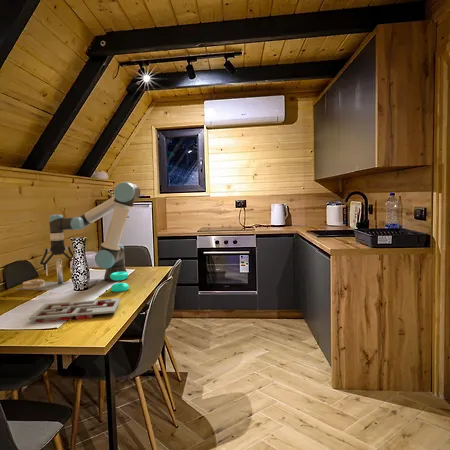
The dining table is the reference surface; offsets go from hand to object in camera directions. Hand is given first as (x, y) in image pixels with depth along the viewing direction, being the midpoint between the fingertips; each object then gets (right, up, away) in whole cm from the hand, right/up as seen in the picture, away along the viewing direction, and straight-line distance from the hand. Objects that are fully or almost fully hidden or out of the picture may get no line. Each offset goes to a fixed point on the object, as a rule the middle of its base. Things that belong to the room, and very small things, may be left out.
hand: (59, 273), depth 210 cm
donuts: (+42, -7, -15) cm, 45 cm away
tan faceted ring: (-13, -7, -5) cm, 16 cm away
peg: (0, -6, 0) cm, 6 cm away
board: (-8, -8, -4) cm, 12 cm away
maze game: (+35, -11, -54) cm, 65 cm away
